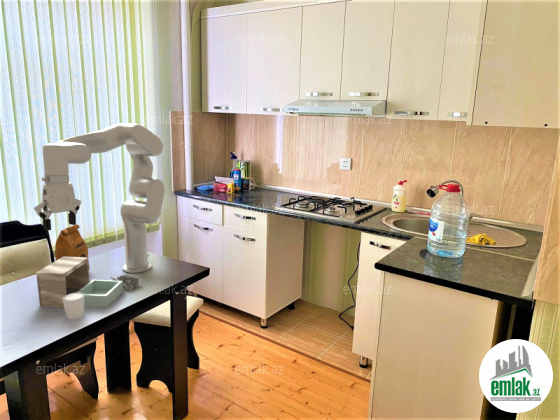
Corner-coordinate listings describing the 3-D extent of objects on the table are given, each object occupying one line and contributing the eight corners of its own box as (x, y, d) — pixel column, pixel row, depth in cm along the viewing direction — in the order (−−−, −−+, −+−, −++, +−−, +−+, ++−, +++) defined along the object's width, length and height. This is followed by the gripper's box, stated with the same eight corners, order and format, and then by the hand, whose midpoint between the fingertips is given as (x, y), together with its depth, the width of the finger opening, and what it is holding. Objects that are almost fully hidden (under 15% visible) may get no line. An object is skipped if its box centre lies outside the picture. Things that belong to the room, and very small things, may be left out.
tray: (94, 289, 164) (93, 279, 163) (123, 291, 163) (122, 280, 162) (75, 305, 150) (74, 294, 149) (107, 307, 150) (106, 296, 149)
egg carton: (109, 286, 168) (108, 277, 167) (124, 280, 175) (124, 271, 174) (127, 292, 163) (126, 282, 162) (142, 286, 169) (141, 276, 168)
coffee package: (93, 271, 182) (90, 224, 177) (74, 282, 170) (70, 231, 165) (74, 269, 184) (69, 222, 179) (53, 280, 172) (48, 229, 167)
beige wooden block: (66, 286, 166) (63, 256, 163) (90, 288, 165) (87, 257, 162) (39, 305, 149) (36, 272, 146) (66, 307, 149) (63, 273, 146)
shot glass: (77, 320, 140) (75, 301, 138) (59, 318, 141) (57, 299, 139) (90, 311, 146) (88, 293, 145) (73, 309, 148) (71, 291, 146)
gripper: (40, 183, 134) (44, 233, 137) (85, 178, 149) (88, 224, 153) (25, 180, 137) (29, 230, 140) (72, 176, 152) (74, 221, 156)
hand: (60, 227), depth 147 cm, fingers open, 9 cm apart
